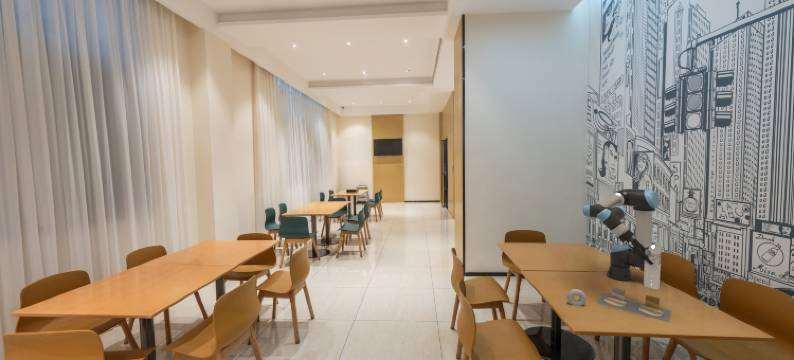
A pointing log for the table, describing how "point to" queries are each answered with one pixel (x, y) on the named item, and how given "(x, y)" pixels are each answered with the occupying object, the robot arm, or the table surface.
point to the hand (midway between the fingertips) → (658, 267)
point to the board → (635, 308)
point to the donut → (576, 302)
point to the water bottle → (649, 273)
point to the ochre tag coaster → (651, 302)
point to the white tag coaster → (619, 295)
